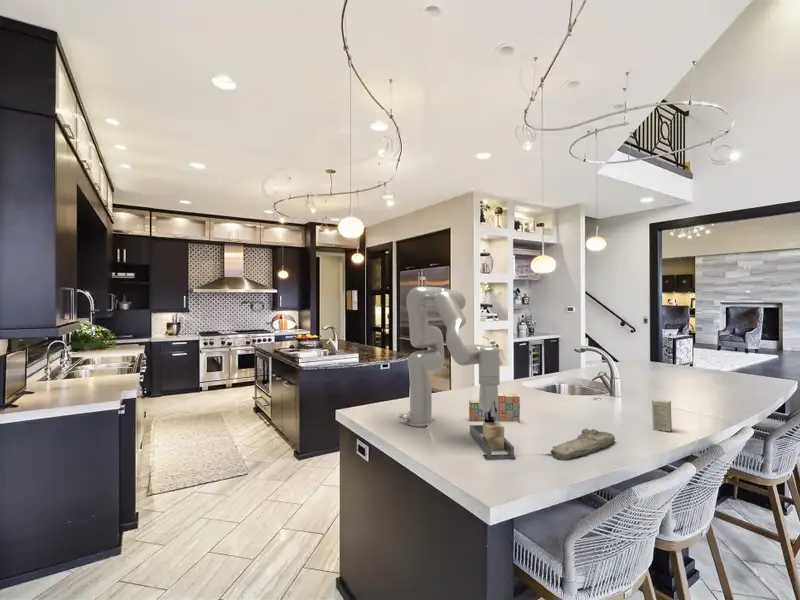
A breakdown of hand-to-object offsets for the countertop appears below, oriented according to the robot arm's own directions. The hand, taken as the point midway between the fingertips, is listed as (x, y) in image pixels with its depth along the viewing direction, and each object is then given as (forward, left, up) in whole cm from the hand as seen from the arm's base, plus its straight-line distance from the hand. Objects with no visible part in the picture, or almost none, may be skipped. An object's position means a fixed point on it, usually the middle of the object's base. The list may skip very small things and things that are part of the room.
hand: (489, 429), depth 152 cm
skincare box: (+77, +14, -6) cm, 78 cm away
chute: (0, -1, -6) cm, 6 cm away
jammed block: (0, -5, -5) cm, 7 cm away
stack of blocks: (+11, +30, -6) cm, 33 cm away
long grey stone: (+33, -5, -6) cm, 34 cm away
